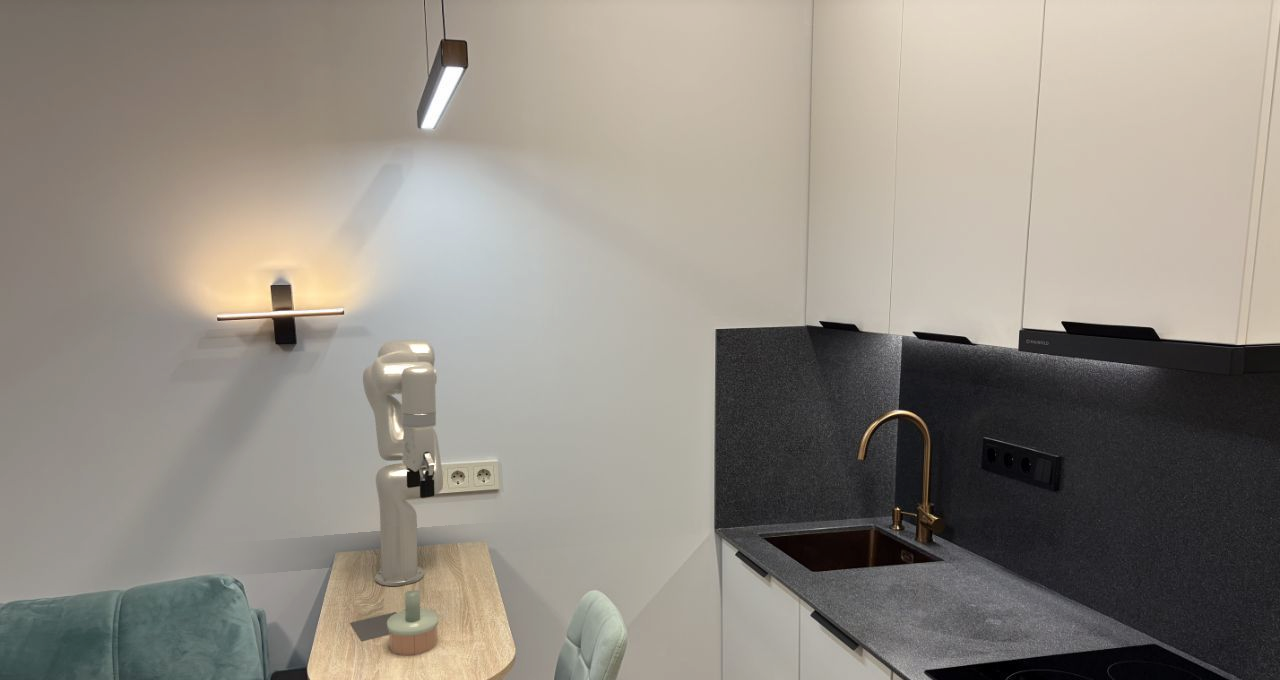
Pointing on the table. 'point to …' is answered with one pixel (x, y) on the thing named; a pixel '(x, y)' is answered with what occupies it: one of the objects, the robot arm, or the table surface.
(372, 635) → the mat
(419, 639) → the bowl
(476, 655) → the table surface
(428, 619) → the lid
